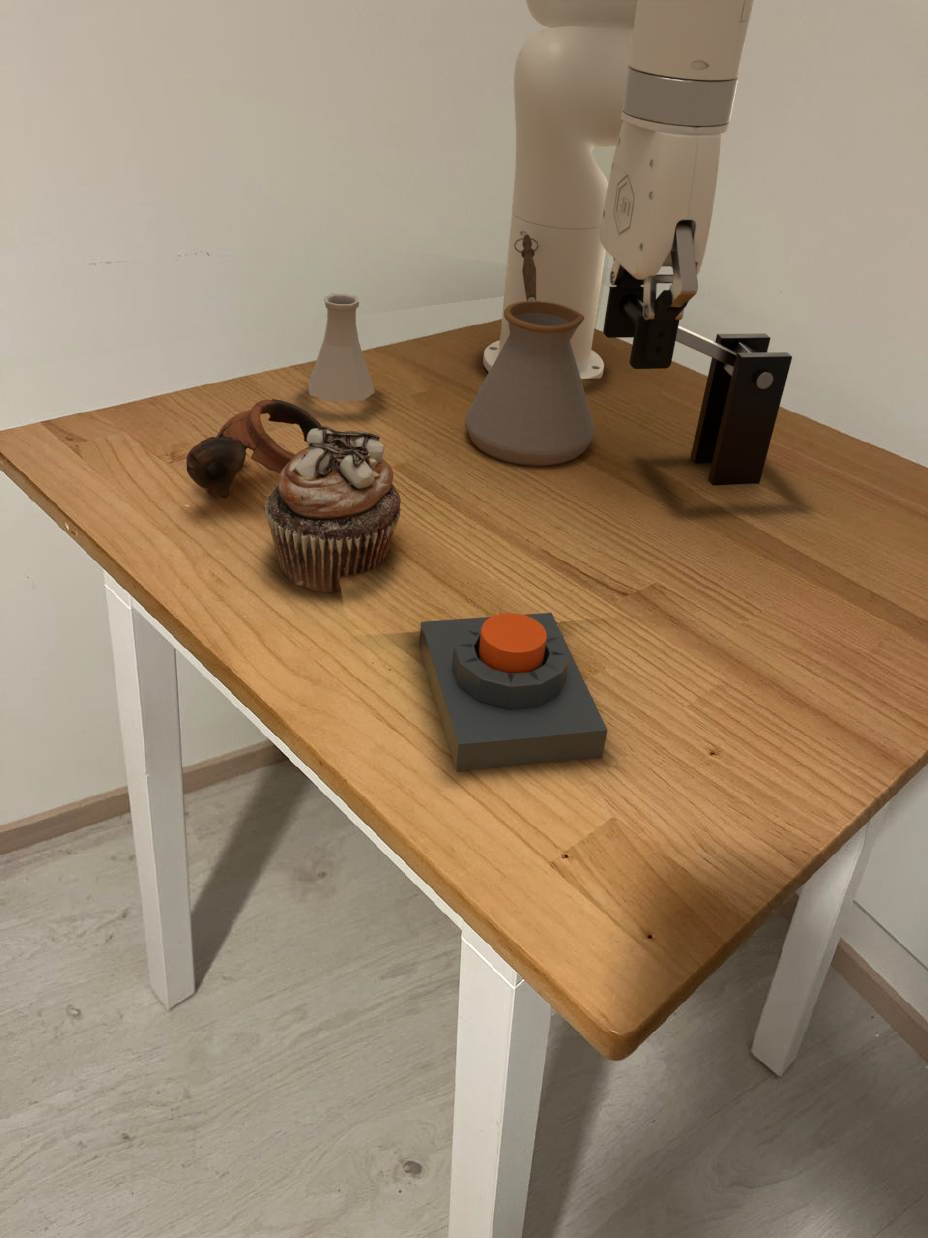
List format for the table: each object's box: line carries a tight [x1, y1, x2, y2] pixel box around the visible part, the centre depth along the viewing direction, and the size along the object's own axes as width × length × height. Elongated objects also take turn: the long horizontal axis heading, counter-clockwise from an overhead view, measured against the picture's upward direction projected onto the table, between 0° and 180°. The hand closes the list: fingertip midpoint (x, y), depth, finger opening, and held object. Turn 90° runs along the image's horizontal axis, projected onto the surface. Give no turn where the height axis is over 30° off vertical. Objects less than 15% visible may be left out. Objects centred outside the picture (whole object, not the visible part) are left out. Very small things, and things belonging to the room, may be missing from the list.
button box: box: [418, 612, 608, 772], centre depth 67 cm, size 12×9×4 cm
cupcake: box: [263, 425, 402, 593], centre depth 77 cm, size 10×10×10 cm
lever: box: [619, 294, 761, 376], centre depth 85 cm, size 13×6×2 cm, turn 102°
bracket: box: [690, 332, 793, 486], centre depth 90 cm, size 11×9×13 cm
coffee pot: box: [464, 235, 595, 467], centre depth 96 cm, size 21×12×15 cm, turn 3°
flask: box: [307, 293, 376, 403], centre depth 99 cm, size 7×7×10 cm
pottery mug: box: [185, 398, 323, 500], centre depth 85 cm, size 12×10×8 cm
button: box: [479, 612, 547, 674], centre depth 65 cm, size 4×4×2 cm
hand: (635, 349), depth 85 cm, fingers closed on lever, 5 cm apart
